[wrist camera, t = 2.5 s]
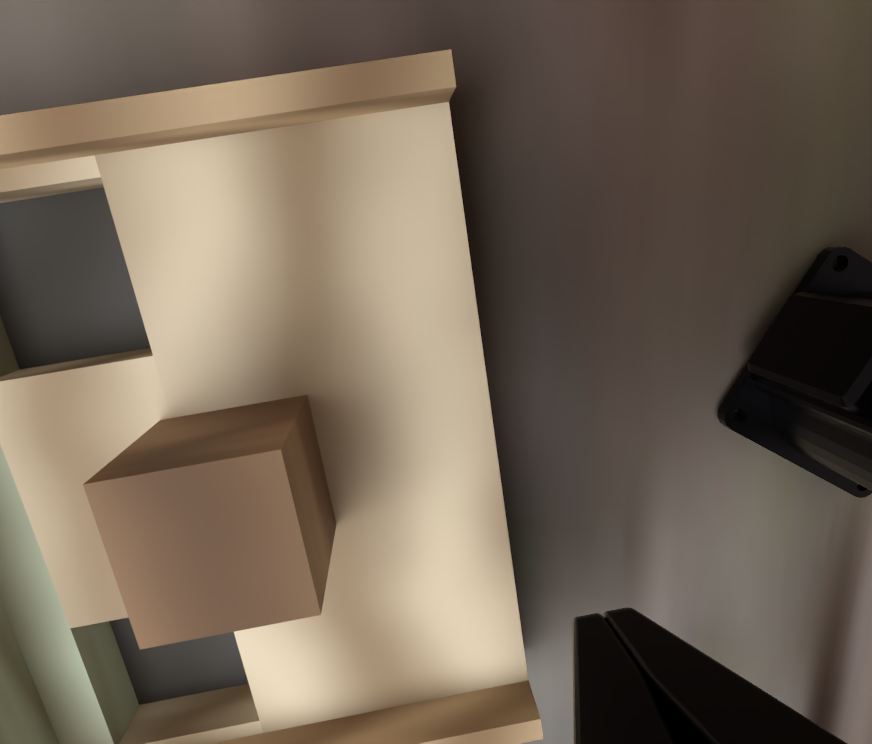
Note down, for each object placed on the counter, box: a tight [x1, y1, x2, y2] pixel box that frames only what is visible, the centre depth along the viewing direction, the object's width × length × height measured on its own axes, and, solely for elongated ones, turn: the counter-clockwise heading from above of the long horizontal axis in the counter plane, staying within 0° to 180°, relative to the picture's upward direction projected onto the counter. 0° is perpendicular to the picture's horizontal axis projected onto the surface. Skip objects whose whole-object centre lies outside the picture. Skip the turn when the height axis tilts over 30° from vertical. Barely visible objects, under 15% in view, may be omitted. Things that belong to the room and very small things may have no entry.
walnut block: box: [83, 395, 336, 649], centre depth 14 cm, size 4×4×4 cm
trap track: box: [0, 49, 543, 744], centre depth 15 cm, size 16×19×4 cm
